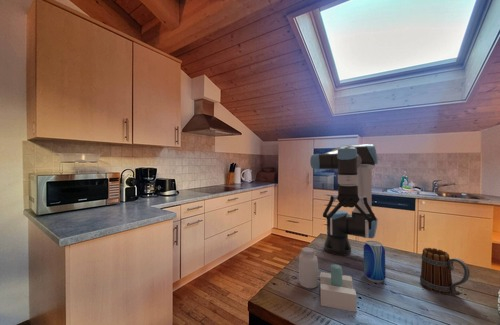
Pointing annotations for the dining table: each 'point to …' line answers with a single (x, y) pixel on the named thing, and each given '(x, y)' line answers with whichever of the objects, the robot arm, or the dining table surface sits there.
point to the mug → (440, 271)
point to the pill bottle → (308, 268)
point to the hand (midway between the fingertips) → (348, 235)
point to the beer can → (374, 261)
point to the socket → (338, 293)
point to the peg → (336, 275)
